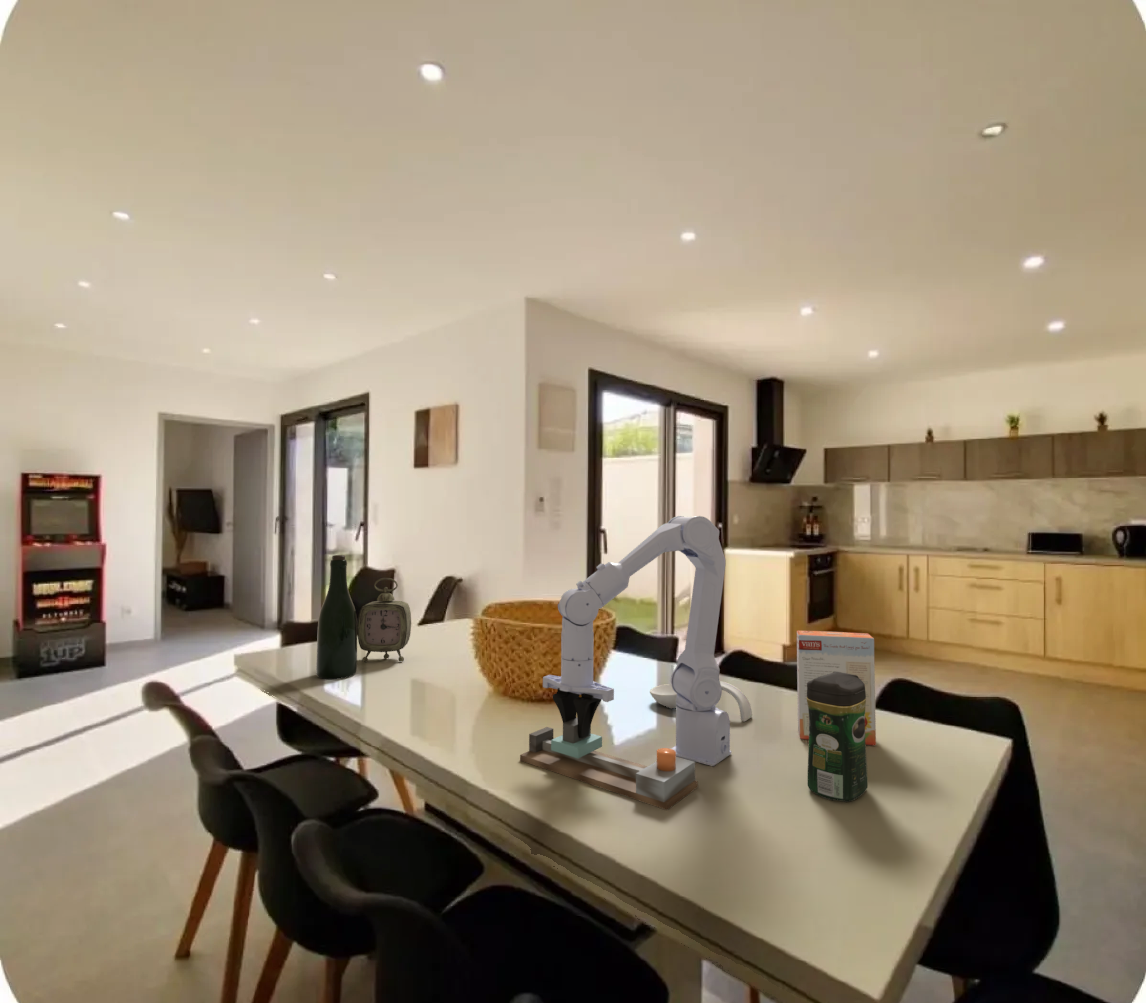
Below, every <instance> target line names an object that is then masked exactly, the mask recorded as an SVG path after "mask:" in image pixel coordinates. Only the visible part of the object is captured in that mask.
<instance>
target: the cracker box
mask: <svg viewBox="0 0 1146 1003" xmlns="http://www.w3.org/2000/svg"><path fill="white" fill-rule="evenodd" d="M875 665H876V664H875V638H874V637H873V636H872V635H871V634H869V633H866V632H865V633H863V632H843V631H822V630H821V631H820V630H796V670H797V671H796V679H797V682H796V684H797V688H796V689H797V732H798V735H799V738H800V739H801V740H808V741H809V710H808V704H807V682H808V681H810V680H813V679H815V678H818V677H820V676H823V675H827V674H830V673H833V672H834V671H836V672H842V673H847V674H852V675H857V676H858V677H859V678H860V679H861V680H862V681H863V683H864V684H865V693H866V706H865V743H866V746H877V742H876V741H877V737H876V736H877V735H876V734H877V732H876V730H877V729H876V724H877V723H876V720H877V719H876V679H875V678H876V676H875V675H876V674H875V671H876V670H875V668H876V666H875Z"/></svg>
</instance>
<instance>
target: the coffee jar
mask: <svg viewBox="0 0 1146 1003" xmlns="http://www.w3.org/2000/svg"><path fill="white" fill-rule="evenodd" d="M807 704H808V710H809V740H808V752H807V753H808V754H807V755H808V756H807V787H808V789H809V790H810V791H811V792H813V793H815V794H816V795H818V796H819V797H822V798H824V799H826V800H829V801H840V802H846V803H847V802H852V801H854V800H857V799H858V798H860V797H861V796H862V795H863V794H864V793H865V792H866V791H867V789H868V785H869V784H868V768H867V767H868V766H867V749H866V748H867V747H866V746H867V745H866V743H865V706H866V693H865V684H864V683H863V681H862V680H861V679H860V678H859V677H858V676H857V675H852V674H847V673H842V672H836V671H834V672H833V673H830V674H827V675H823V676H820V677H818V678H815V679H813V680H810V681H808V682H807Z"/></svg>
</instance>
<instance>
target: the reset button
mask: <svg viewBox="0 0 1146 1003" xmlns="http://www.w3.org/2000/svg"><path fill="white" fill-rule="evenodd" d="M676 757H677V756H676V752H675V750H673V749H671V748H668V747H662V748H661V747H660V748H658V749H657V750H656V761H657V768H658V769H659V770H662V771H673V770H675V769H676Z"/></svg>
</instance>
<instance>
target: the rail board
mask: <svg viewBox="0 0 1146 1003" xmlns="http://www.w3.org/2000/svg"><path fill="white" fill-rule="evenodd" d="M528 736H529V737H528V738H529V739H528V740H529V741H528V743H529V744H528V750H527V751H525V752H524V753H521V754H520V755H519V760H520V761H521V762H524V763H526V764H530V765H532V766H535V767H538V768H540V769H541V768H542V769H544V770H548V771H551V772H553V773H557V774H560V775H562V776H564V777H565V776H566V777H569V778H571V779H574V780H577V781H579V782H582V783H586V784H589V785H592V786H594V787H597V786H598V788H600V787H601V789H603V788H604V790H606V789H607V790H606V791H609V790H610V792H613V793H616V794H619V795H620V796H621V795H622V796H624V797H628V798H631V799H633V800H636V801H640V802H642V803H645V804H648V805H651V806H654V807H657V808H659V809H663V810H666V811H667V810H669V809H671V808H672V807H673V806H675V805H676V804H677V803H679V802H680V801H681V800H683V799H684V798H685V797H687V796H688V795H690V794H691V793H692V792H694V791H695V790H697V788H698V786H699V785H698V783H699V781H697V780H696V761H692V760H688V759H685V758H681V757H677V756H676V769H675V770H673V771H662V770H659V769H658V768H657V760H655V761H654V762H652V763H651V764H649V765H645V764H640V763H637V762H633V761H630V760H628V759H623V758H621V757H617V756H614V755H610V754H607V753H603V752H600V751H598V750H597V751H596V750H594V751H592V752H590V753H588V754H586V755H584V756H582V757H580V758H575V757H571V756H568V755H565V754H562V753H559V752H555V751H552V750H551V740H552V739H554V728H552V727H550V726H546V727H544V728H541V729H539V730H536V731H533V732H531V733H529V735H528Z"/></svg>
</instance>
